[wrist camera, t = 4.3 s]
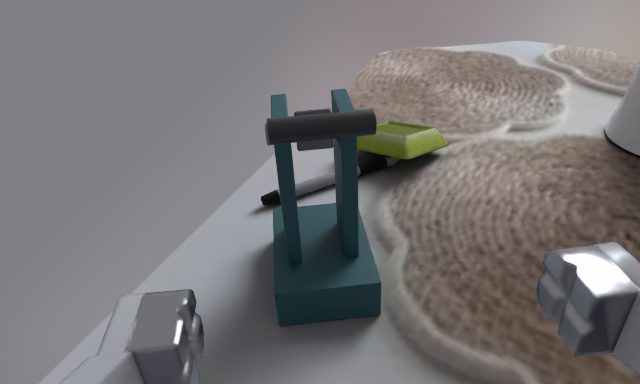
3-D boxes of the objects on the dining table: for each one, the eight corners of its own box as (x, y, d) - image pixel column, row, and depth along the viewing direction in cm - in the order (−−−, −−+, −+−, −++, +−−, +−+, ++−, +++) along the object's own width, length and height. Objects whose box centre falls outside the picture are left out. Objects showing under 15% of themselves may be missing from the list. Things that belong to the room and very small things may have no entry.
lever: (378, 147, 21) (374, 94, 21) (270, 157, 21) (264, 104, 21) (350, 145, 31) (347, 109, 31) (276, 152, 31) (272, 116, 31)
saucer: (385, 117, 56) (384, 134, 57) (339, 127, 50) (339, 146, 50) (451, 126, 50) (450, 145, 51) (409, 139, 44) (407, 160, 45)
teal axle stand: (380, 315, 32) (384, 131, 24) (279, 326, 31) (252, 143, 24) (356, 229, 40) (354, 74, 33) (276, 237, 40) (256, 82, 33)
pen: (259, 200, 44) (260, 192, 44) (397, 156, 51) (400, 147, 50) (265, 210, 44) (265, 201, 43) (404, 164, 50) (407, 155, 49)
